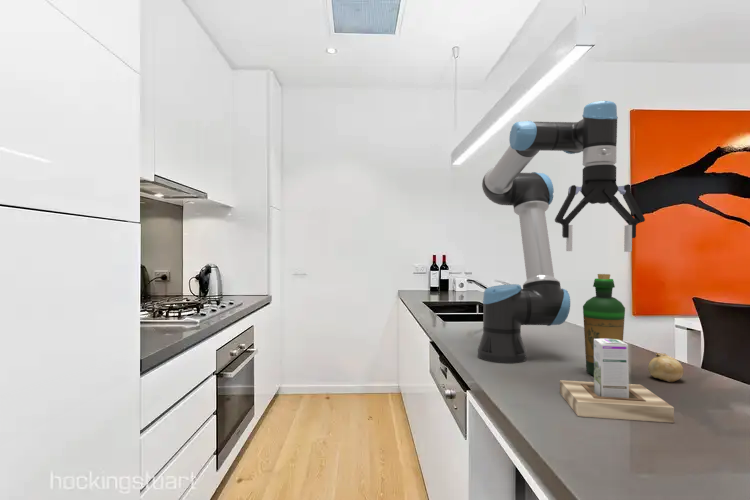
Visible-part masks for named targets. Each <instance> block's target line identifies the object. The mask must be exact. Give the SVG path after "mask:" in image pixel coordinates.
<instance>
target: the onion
mask: <svg viewBox="0 0 750 500" xmlns="http://www.w3.org/2000/svg"><path fill="white" fill-rule="evenodd" d="M647 366H648V367H647V368H648V372H649V374H650V375H651V376H652V377H653V378H655V379H659V380H661V381H665V382H668V383H673V382H676V381H677V382H678V381H679V380H681V378H682V377H683V376H684V373H685V372H684V371H685V370H684V367H683V365H682V363H681V362H679V360H677V359H676V358H674V357H672V356H669V355H668V354H666V353H660V352H656V353H655V356H654V357H653V358H652V359H651V360H650V361H649V363H648V365H647Z"/></svg>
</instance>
